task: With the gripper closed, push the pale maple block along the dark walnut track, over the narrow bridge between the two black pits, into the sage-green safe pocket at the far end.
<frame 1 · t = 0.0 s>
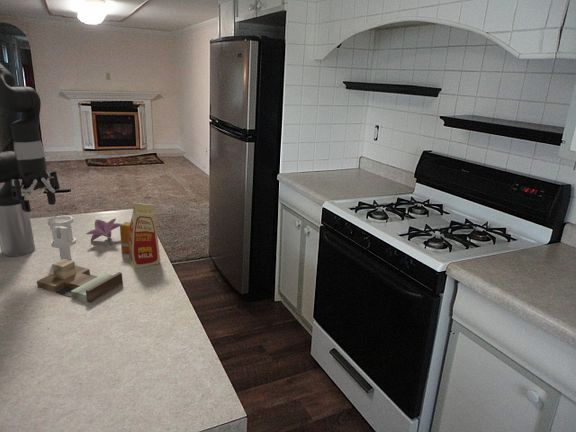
hand: (40, 207, 132), 17 cm above the counter, tool pointing down, fingers open, 8 cm apart
white tall cylindrical piece: (66, 260, 138), on the counter
trap track: (81, 285, 121), on the counter
supplement box: (128, 251, 145), on the counter
lily: (106, 242, 153), on the counter
milk carton: (146, 260, 139), on the counter
maple block: (65, 275, 123), point 2 cm above the counter, touching trap track
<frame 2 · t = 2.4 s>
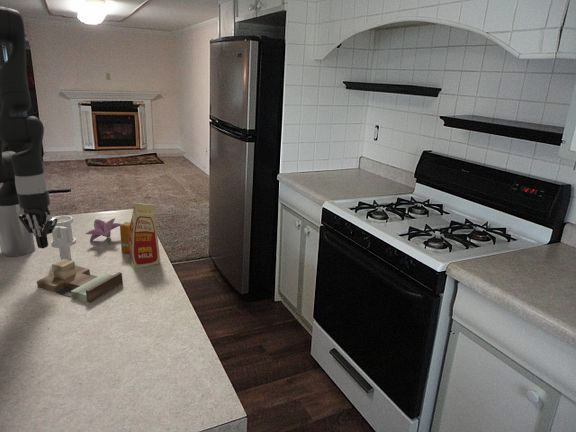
hand: (43, 247, 124), 9 cm above the counter, tool pointing down, fingers closed
nothing on the counter moved.
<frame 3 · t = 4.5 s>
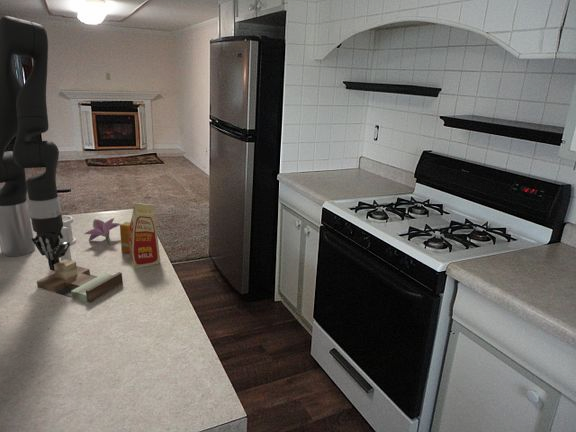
hand: (55, 269, 124), 3 cm above the counter, tool pointing down, fingers closed
maple block: (66, 275, 123), point 2 cm above the counter, touching gripper
everything else where it was.
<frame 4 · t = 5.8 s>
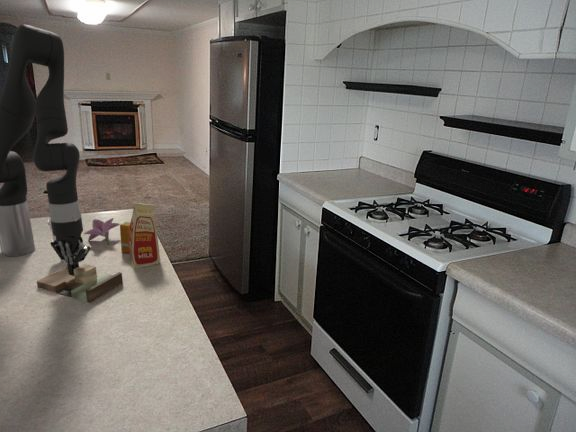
hand: (74, 274, 121), 3 cm above the counter, tool pointing down, fingers closed
maple block: (86, 280, 120), point 2 cm above the counter, touching gripper
everything else where it was.
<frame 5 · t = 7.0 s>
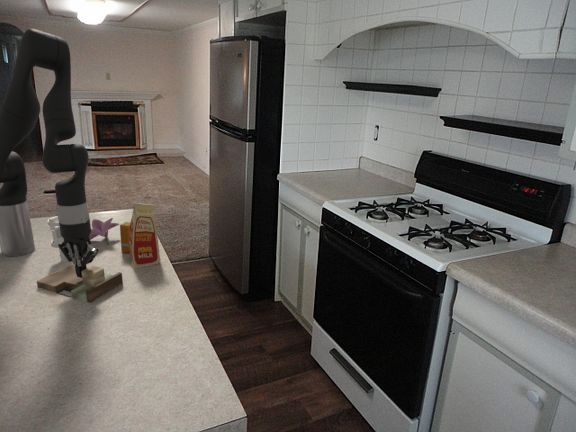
hand: (82, 276, 120), 3 cm above the counter, tool pointing down, fingers closed
maple block: (94, 282, 119), point 2 cm above the counter, touching gripper, trap track
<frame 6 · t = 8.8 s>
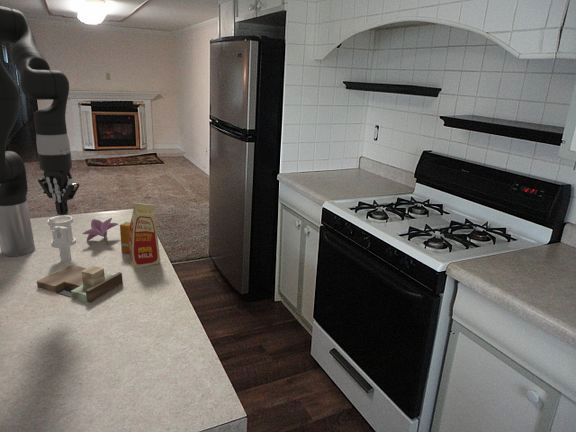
hand: (62, 214, 116), 21 cm above the counter, tool pointing down, fingers closed
maple block: (94, 282, 119), point 2 cm above the counter, touching trap track
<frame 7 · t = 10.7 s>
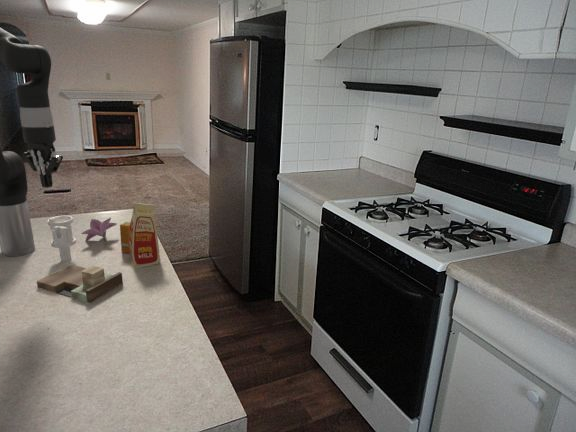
hand: (47, 186, 119), 27 cm above the counter, tool pointing down, fingers closed
at the end: maple block 1.4 cm from the target spot on the trap track, point 2.0 cm above the trap track's base; maple block tilted 0° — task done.
